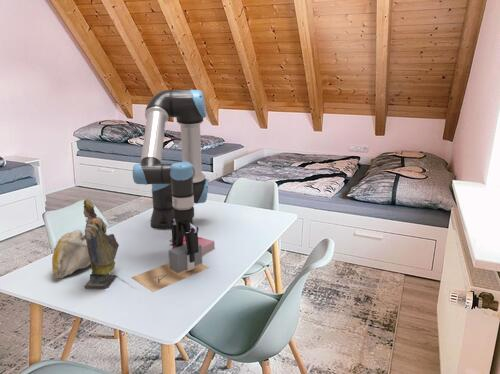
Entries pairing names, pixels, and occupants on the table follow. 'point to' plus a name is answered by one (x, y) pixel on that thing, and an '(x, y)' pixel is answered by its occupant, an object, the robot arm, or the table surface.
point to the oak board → (163, 277)
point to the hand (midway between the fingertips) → (186, 266)
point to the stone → (70, 254)
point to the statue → (99, 249)
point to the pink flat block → (206, 244)
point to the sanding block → (183, 259)
